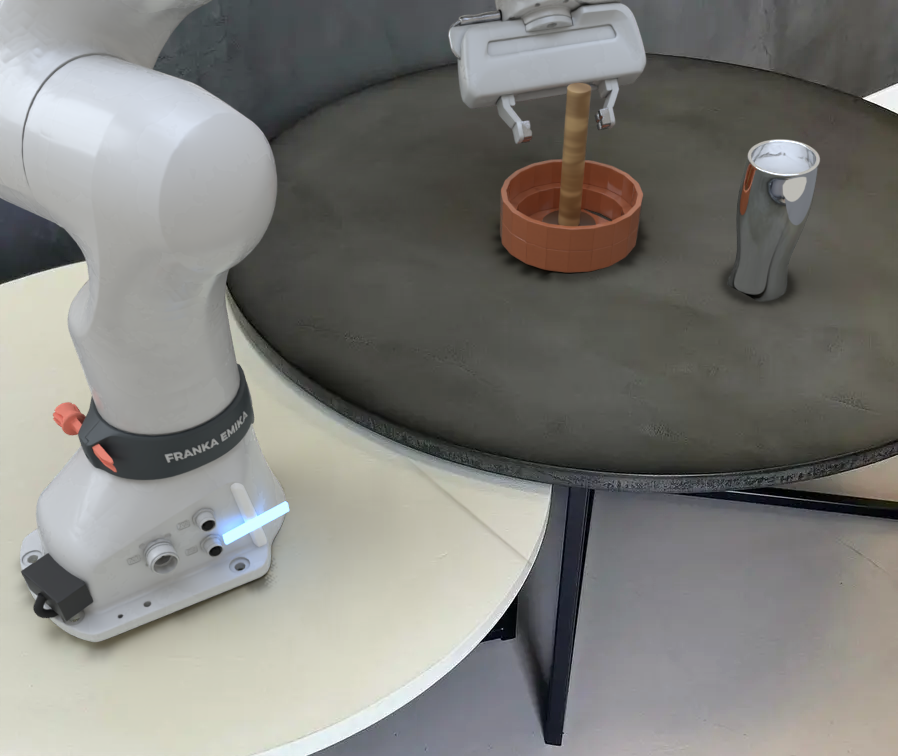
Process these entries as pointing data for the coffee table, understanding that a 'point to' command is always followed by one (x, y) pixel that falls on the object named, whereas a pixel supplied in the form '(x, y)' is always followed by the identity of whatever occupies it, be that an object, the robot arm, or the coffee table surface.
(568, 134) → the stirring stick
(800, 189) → the beer glass
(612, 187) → the bowl
